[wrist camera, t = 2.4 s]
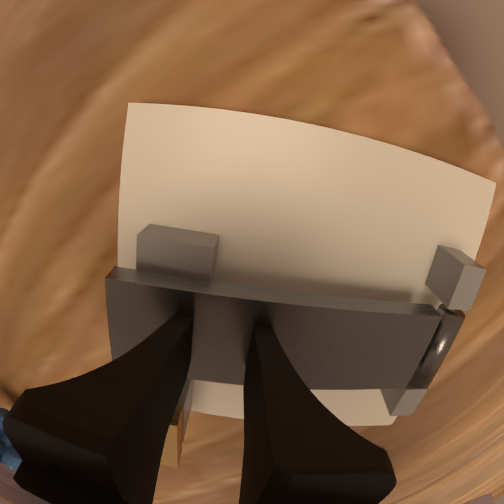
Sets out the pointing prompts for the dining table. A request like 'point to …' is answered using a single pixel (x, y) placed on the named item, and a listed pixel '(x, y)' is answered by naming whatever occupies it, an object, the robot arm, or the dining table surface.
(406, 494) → the dining table surface
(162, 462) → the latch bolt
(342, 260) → the latch base plate
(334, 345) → the strap
